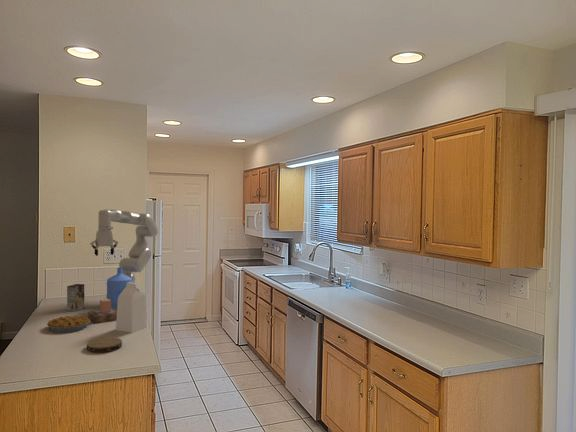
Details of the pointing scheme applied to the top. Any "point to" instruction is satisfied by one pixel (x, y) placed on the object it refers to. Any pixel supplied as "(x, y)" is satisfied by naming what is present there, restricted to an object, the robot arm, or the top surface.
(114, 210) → the robot arm
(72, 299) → the coffee box
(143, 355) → the top surface
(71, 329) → the pie
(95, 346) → the brown round disc
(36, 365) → the top surface
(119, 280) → the water jug
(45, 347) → the top surface
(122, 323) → the milk
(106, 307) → the terracotta block
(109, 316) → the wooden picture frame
